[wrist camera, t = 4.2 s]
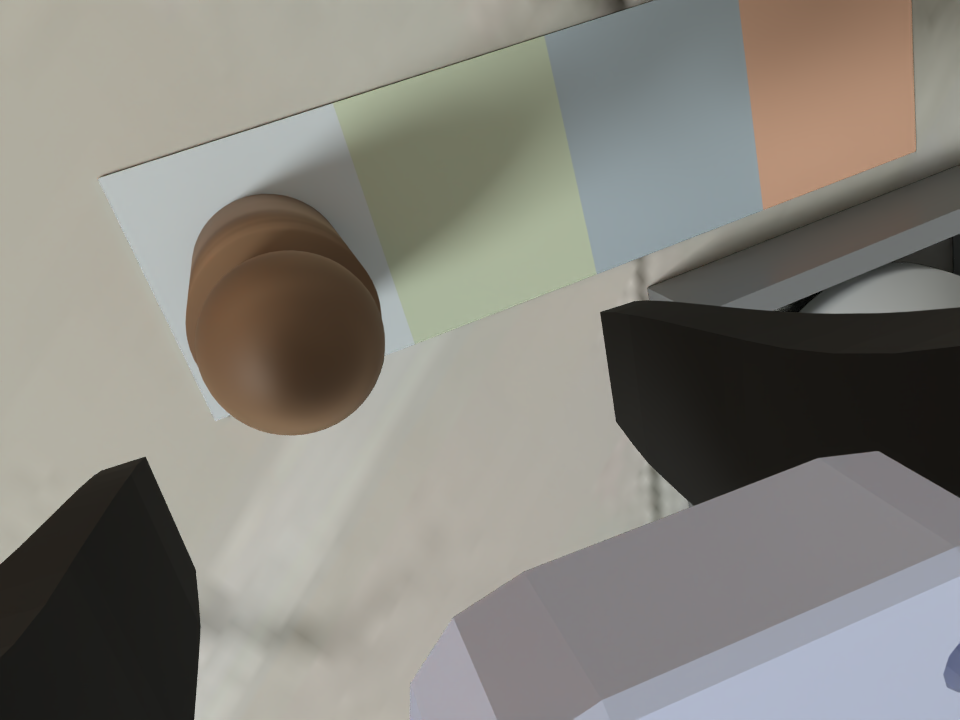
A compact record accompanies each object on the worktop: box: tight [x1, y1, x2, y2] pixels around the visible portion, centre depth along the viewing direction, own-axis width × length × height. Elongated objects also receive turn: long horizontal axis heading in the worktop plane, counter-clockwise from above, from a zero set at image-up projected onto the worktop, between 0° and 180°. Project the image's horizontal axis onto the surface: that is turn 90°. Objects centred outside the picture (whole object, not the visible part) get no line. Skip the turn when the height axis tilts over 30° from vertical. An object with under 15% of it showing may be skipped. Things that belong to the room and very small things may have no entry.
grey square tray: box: [647, 165, 960, 508], centre depth 27 cm, size 13×13×3 cm
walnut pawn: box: [185, 194, 385, 435], centre depth 17 cm, size 4×4×8 cm
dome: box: [800, 263, 960, 314], centre depth 26 cm, size 10×10×4 cm
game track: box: [98, 0, 916, 421], centre depth 22 cm, size 7×24×1 cm, turn 106°
